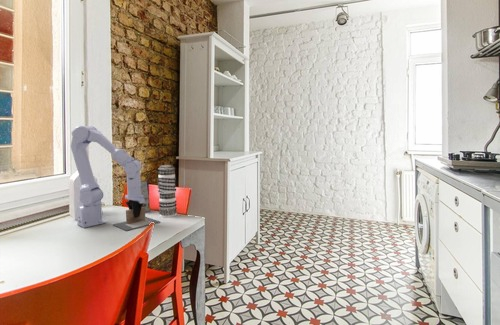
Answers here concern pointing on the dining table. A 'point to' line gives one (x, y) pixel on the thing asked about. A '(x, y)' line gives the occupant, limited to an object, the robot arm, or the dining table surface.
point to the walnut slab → (130, 216)
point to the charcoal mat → (135, 224)
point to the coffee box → (145, 194)
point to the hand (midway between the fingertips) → (135, 216)
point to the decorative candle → (167, 191)
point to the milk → (75, 194)
